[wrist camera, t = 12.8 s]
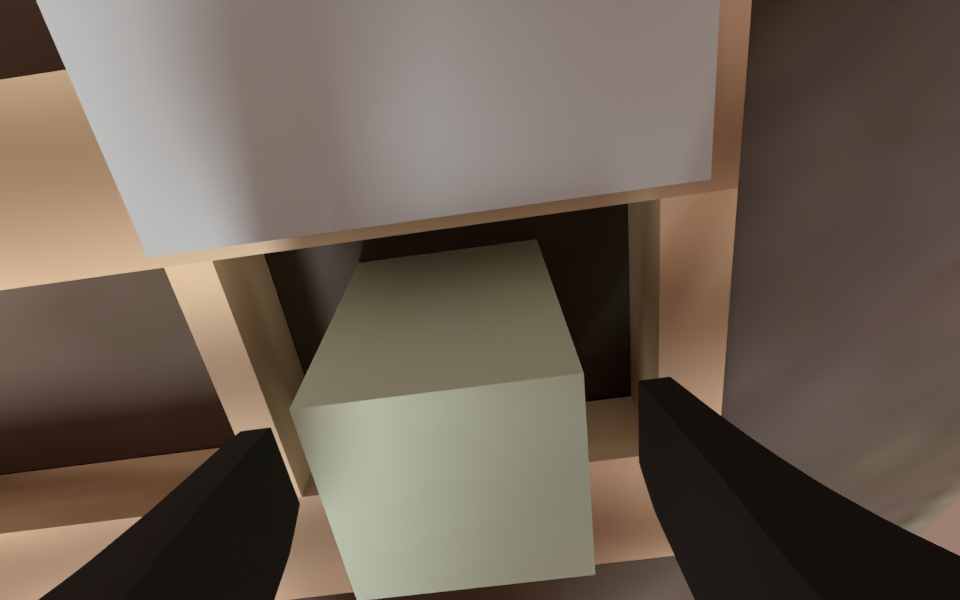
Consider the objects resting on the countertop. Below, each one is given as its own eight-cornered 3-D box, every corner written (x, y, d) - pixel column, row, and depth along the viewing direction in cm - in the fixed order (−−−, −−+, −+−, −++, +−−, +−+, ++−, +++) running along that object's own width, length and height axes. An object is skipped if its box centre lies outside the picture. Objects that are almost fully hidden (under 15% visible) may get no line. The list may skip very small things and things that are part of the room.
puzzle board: (680, 486, 17) (710, 551, 15) (-31, 571, 18) (-98, 643, 16) (708, -330, 9) (784, -444, 7) (-580, -107, 10) (-869, -147, 8)
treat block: (549, 386, 15) (595, 574, 10) (394, 406, 16) (357, 601, 10) (536, 238, 14) (583, 373, 8) (358, 262, 14) (289, 409, 8)
